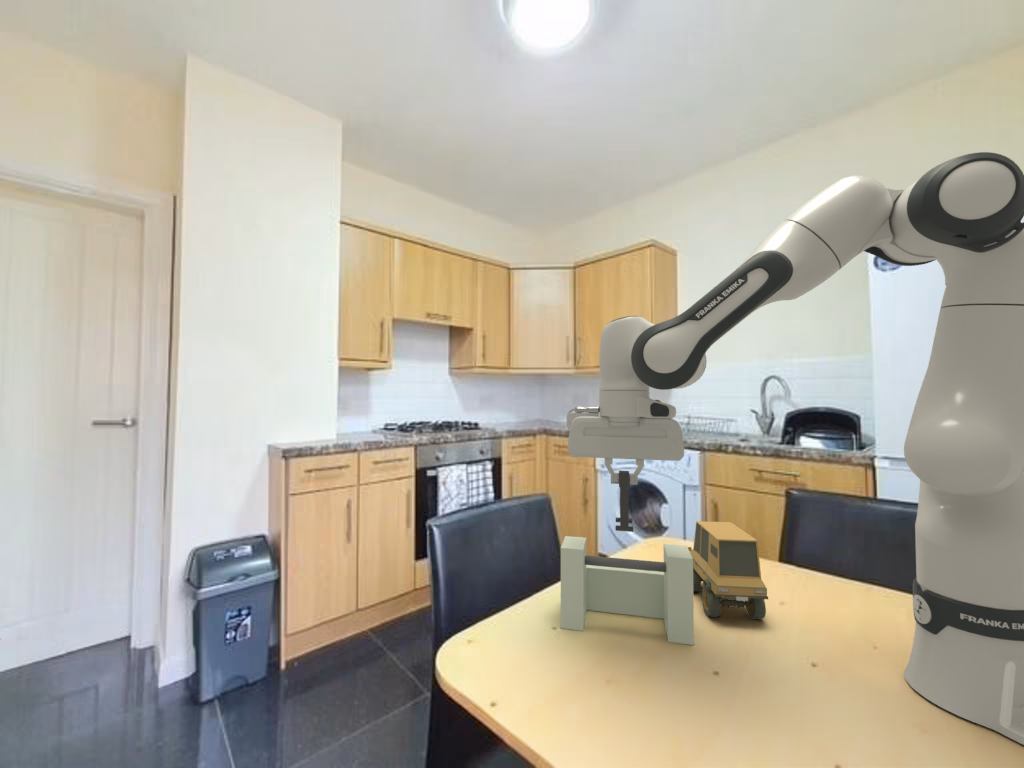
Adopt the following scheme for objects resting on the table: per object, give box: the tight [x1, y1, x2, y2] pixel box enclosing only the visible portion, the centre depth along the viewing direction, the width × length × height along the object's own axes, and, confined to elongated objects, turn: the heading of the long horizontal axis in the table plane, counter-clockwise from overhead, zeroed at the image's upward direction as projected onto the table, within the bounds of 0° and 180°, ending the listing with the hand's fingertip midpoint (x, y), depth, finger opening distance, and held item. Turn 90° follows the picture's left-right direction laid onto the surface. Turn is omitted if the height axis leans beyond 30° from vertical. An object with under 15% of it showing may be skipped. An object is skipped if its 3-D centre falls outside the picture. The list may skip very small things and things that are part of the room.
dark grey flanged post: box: [614, 470, 634, 533], centre depth 79 cm, size 3×7×9 cm, turn 166°
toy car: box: [687, 520, 769, 620], centre depth 88 cm, size 10×19×15 cm, turn 174°
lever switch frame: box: [560, 535, 695, 646], centre depth 80 cm, size 22×10×14 cm, turn 76°
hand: (624, 483), depth 79 cm, fingers closed on dark grey flanged post, 2 cm apart
